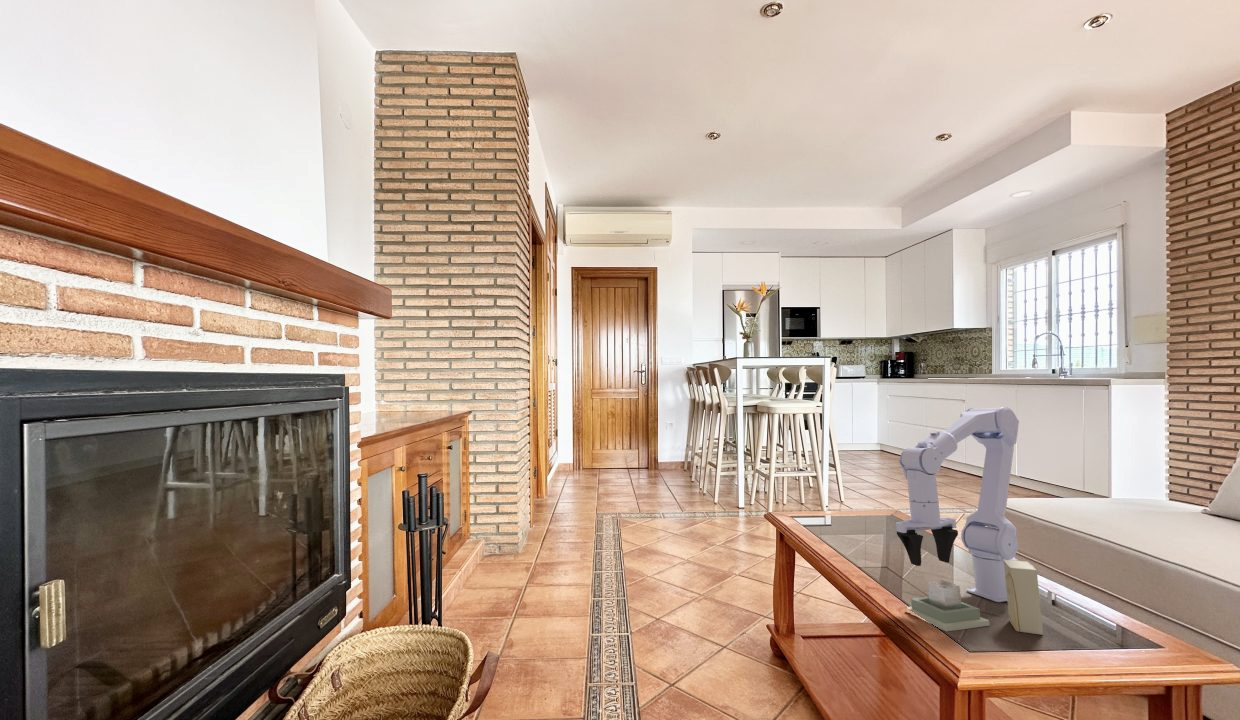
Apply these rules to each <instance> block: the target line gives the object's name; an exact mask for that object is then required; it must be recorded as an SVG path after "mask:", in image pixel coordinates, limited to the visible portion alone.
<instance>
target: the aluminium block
mask: <svg viewBox="0 0 1240 720" xmlns="http://www.w3.org/2000/svg"><path fill="white" fill-rule="evenodd" d="M960 589H961V587H960V585H957V584H956V583H952V582H949V581H947V580H944V579H940V580H933V581H927V591H928V597H929V603H930V605H932V606H934V607H937V608H939V609H941V610H944V611H946V610H954V609H962V605H961V602H962V597H961V590H960Z"/></svg>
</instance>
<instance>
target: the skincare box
mask: <svg viewBox="0 0 1240 720" xmlns="http://www.w3.org/2000/svg"><path fill="white" fill-rule="evenodd" d="M1003 561H1004V570H1005V580H1006V590H1007V601H1006V602H1007V611H1008V612H1007V613H1008V620H1009V622H1010V624H1011V626H1012V627H1013V629H1014V631H1016V632H1021V633H1026V634H1031V635H1032V634H1034V635H1040V636H1041V635H1044V631H1043V628H1044V627H1043V621H1042V619H1043V618H1042V612H1041V611H1042V610H1041V600H1040V590H1039V589H1040V588H1039V581H1038V580H1039V579H1038V570H1037V568H1035V567H1034V565H1032V564H1031V563H1030V562H1029V561H1024V560H1023V561H1022V560H1018V561H1014V560H1003Z"/></svg>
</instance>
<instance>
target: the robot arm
mask: <svg viewBox="0 0 1240 720" xmlns="http://www.w3.org/2000/svg"><path fill="white" fill-rule="evenodd" d="M1019 423H1020V421H1019V419H1018V418H1017V415H1016V414H1015V412H1014V411H1013V410H1012V409H1011V408H1010V407H1008V406H1001V407H989V408H988V407H985V408H982V407H980V408H974V407H969V408H966V409H965V410H964V411H962V412H961V413H960V416H959V419H957V420H956V421H955V422H954V423H953V424H952V425H951V426H949V427H948V428H947V429H946V430H945V431H943V430H933V431H931V432H930V433H929V436H928V437H926V438H925V439H924V440H921V441H918V442H917V444H916V445H915V446H914V447H911V446H910V447H906V448H905V449H904V450H902V452H901V453H900V459H898V464H899V466H900V467H901V470H902V471H903V474H904V475H903V476H904V478H905V479H906V480H907V481H906V482H907V491H908V499H909V500H908V502H909V509H910V517H909V519H907V520H903V521H899V522H898V521H897V522H895V529H896V530H895V531H896V536H898V538H899V539H900V541H901V543H902V545H903V547H904V548H905V551H906V553H907V555H908V558H909V561H910V565H911V564H912V565H914V566H916V567H917V566H918V567H921V566H922V544H923V539H924V535H922V534H918V532H919V531H926V530H927V531H931V533H932V536H933V539H934V542H935V546H936V554H937V557H938V561H940V562H943V563H946V564H948V563H950V558H951V552H952V549H953V545H954V543H955V541H956V539H957V537H958V535H959V531H958V530H957V529H956V528H957V521H956V519H955V518H950V517H941V512H940V503H939V495H938V494H939V492H938V484H937V475H936V473H938V472H939V471H940V470H941V468H942V464H943V463H944V460H946V459H947V458H949V456H951V455H952V454H954V453H955V452H956V451H957V450H958V443H959V442H961V441H963V440H965V439H967V438H968V437H969V436H971V437H972V438H974V440H975V441H976V442H977V443H979V444H981V445H983V446H984V447H985V454H984V455H985V457H984V463H983V471H982V477H981V484H980V491H979V492H980V493H979V500H978V505H977V510H976V511H975V512H973V513H971V514H970V515H968V516H967V517H966V518H965V519H966V520H965V521H966V522H965V524H964V526H963V528H962V529H961V532H960V536H961V537H960V538H961V542H962V544H963V546H964V547H965V549H967V550H968V554H971V557H972V566H973V577H974V584H975V585H974V586H975V587H974V588H966V592H967V593H971V594H973V595H976V596H979V597H982V598H984V599H987V600H990V601H992V602H996V603H1004V602H1007V590H1006V580H1005V570H1004V561H1003V560H1014V561H1019V560H1018V559H1017V558H1016V557H1015V556H1016V555H1017V552H1018V551H1019V550H1018V549H1019V542H1018V538H1017V532H1018V529H1017V527H1016V526H1015V525H1014V524H1013V523H1012V522H1011V521H1010V520H1009V519H1008V518H1006V513H1007V512H1006V511H1007V505H1008V503H1007V502H1008V496H1009V486H1010V482H1011V481H1010V480H1011V475H1012V474H1011V473H1012V463H1013V458H1014V451H1015V450H1014V449H1015V445H1016V444H1017V439H1018V431H1019Z"/></svg>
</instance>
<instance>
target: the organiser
mask: <svg viewBox="0 0 1240 720" xmlns="http://www.w3.org/2000/svg"><path fill="white" fill-rule="evenodd" d="M910 602H911V606H906V607H907V609H909V610H910V611H912V612H914V613H915V614H917V615H918V616H920V617H921V618H923V619H925V620H926V621H928V622H930V623H931V624H933V625H934V626H933V625H932V626H933V627H935V626H936V628H937V627H938V629H940V630H942V631H945V632H953V631H960V630H968V629H975V628H976V629H977V628H984V627H989V626H990V625H991V624H990V620H989V619H987V618H984V617H982V616H981V612H980V608H979V607H976V606H973V605H971V604H968V603H965V602H963V601H961V605H962V609H954V610H946V611H944V610H941V609H939V608H937V607H934V606H932V605H930V603H929V596H923V597H913V598H911V599H910ZM931 624H930V625H931Z"/></svg>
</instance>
